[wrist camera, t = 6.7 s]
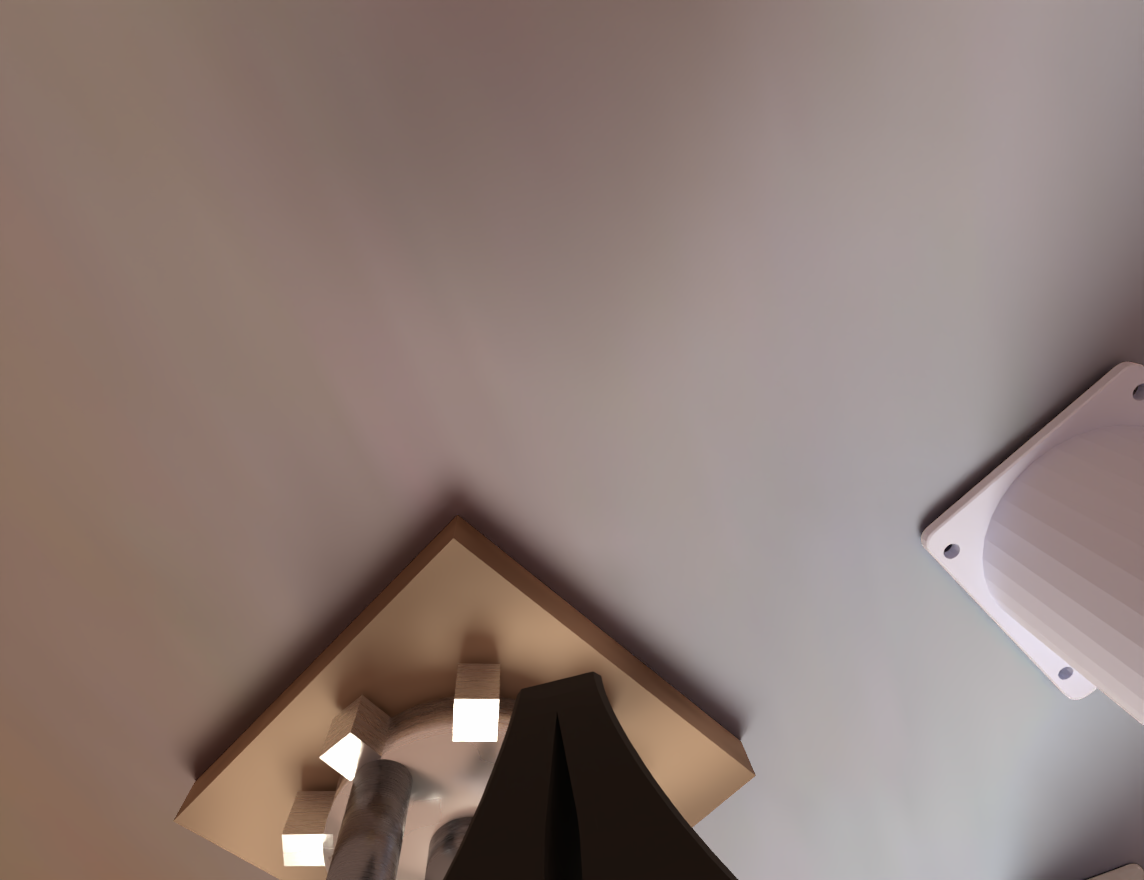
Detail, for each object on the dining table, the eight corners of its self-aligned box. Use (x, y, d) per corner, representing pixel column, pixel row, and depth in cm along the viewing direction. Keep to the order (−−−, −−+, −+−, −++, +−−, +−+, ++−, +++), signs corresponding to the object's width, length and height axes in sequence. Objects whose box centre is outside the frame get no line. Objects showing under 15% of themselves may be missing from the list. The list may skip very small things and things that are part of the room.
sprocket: (482, 597, 19) (472, 727, 14) (705, 803, 22) (757, 965, 17) (223, 807, 20) (137, 986, 16) (466, 971, 24) (454, 1161, 19)
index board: (740, 741, 24) (791, 858, 19) (490, 951, 26) (485, 1096, 22) (457, 514, 20) (442, 597, 16) (195, 781, 22) (120, 917, 18)
